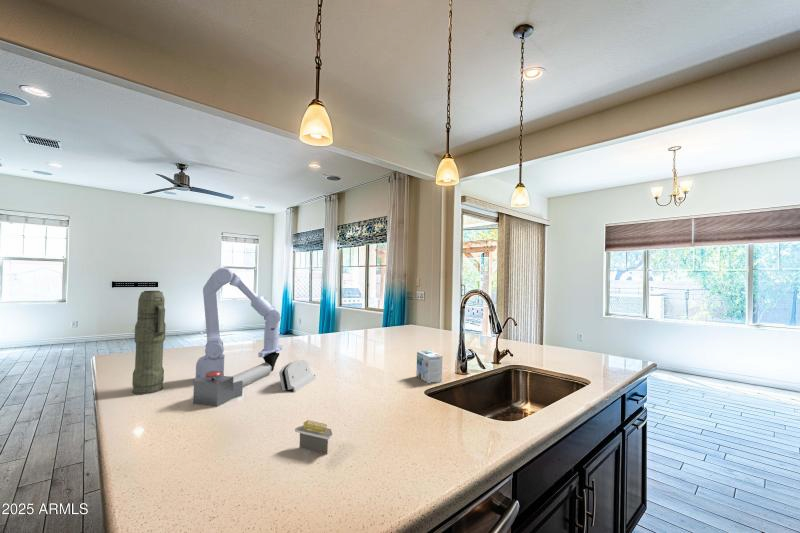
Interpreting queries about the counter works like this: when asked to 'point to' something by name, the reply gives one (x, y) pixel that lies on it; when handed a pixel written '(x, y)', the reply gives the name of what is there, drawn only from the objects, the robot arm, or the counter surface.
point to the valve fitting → (216, 389)
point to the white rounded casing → (295, 375)
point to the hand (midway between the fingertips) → (270, 370)
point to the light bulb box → (429, 366)
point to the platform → (314, 436)
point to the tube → (253, 374)
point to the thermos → (149, 343)
